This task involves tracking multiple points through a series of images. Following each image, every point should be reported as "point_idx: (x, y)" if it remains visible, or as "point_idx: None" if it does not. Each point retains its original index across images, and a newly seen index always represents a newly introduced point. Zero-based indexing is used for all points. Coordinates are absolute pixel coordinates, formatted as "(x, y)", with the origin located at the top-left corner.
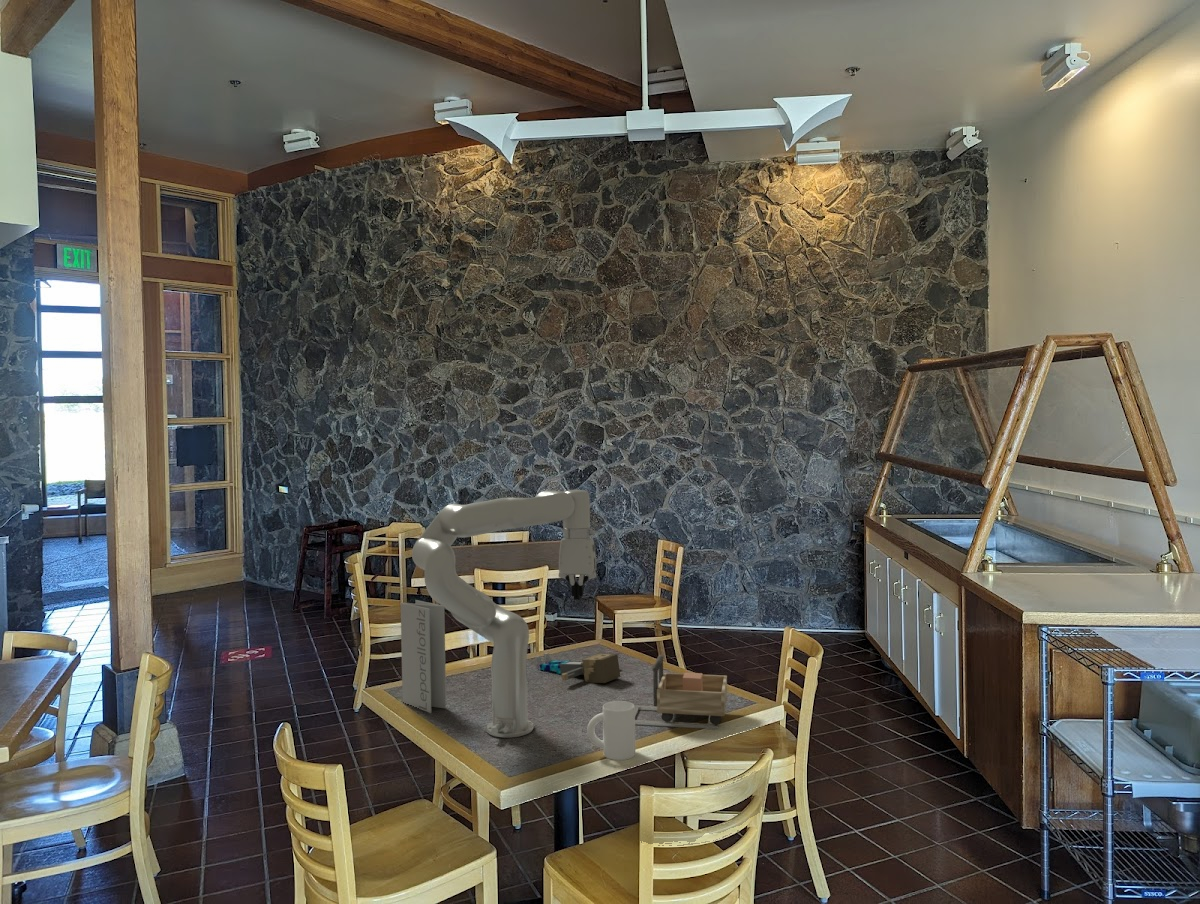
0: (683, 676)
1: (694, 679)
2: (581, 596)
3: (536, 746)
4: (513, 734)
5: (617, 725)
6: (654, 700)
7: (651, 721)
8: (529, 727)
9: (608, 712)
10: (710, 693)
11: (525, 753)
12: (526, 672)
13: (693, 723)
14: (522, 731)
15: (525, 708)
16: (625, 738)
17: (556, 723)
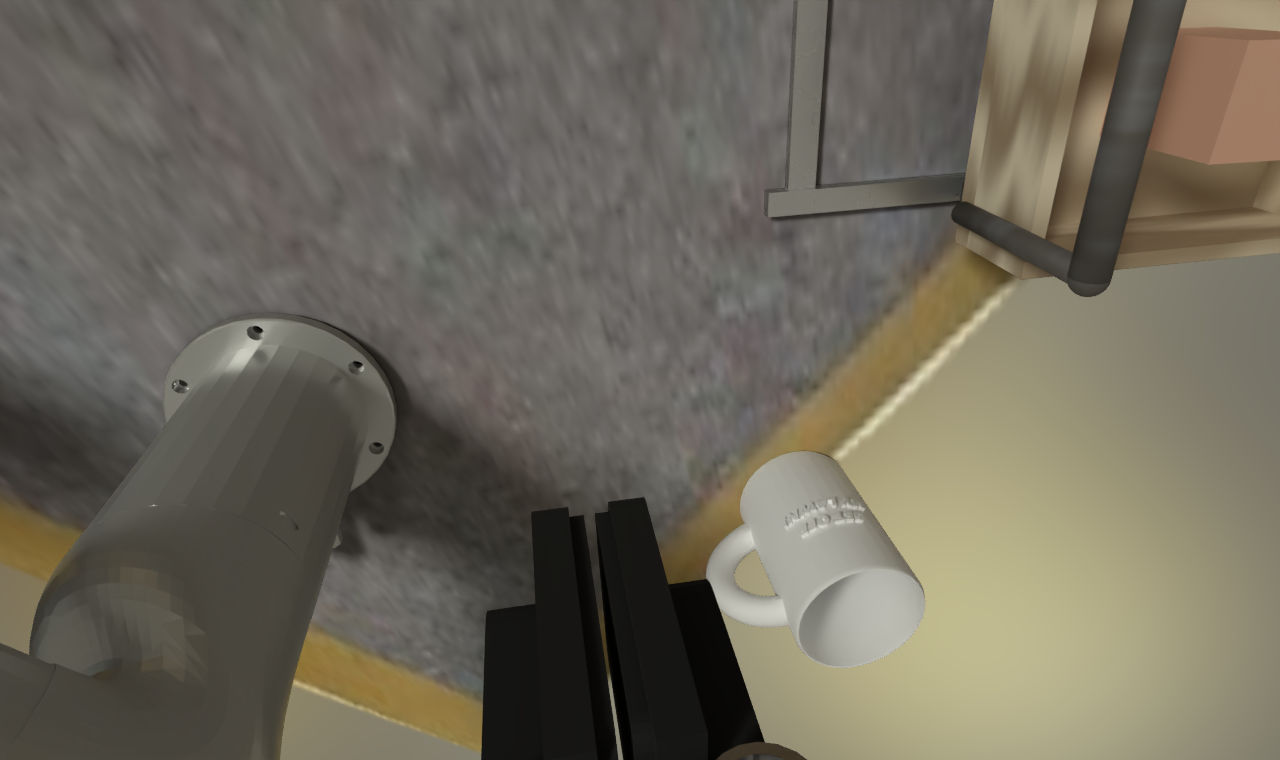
0: (1219, 137)
1: (1266, 159)
2: (647, 520)
3: (484, 519)
4: (353, 489)
5: (838, 623)
6: (971, 230)
7: (901, 191)
8: (383, 416)
9: (822, 659)
10: (1277, 251)
11: (473, 576)
12: (307, 572)
13: None
14: (377, 462)
15: (352, 471)
16: (846, 577)
17: (458, 282)
